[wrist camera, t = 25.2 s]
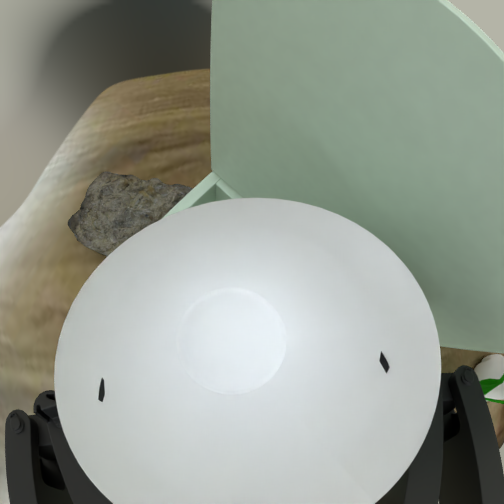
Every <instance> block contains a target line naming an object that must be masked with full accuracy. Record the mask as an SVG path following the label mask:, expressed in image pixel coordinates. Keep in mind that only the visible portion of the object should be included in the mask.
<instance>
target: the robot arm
mask: <svg viewBox="0 0 504 504" xmlns="http://www.w3.org/2000/svg"><path fill="white" fill-rule="evenodd" d="M379 361H380V363H381V365H382V367H383V368H384V370H385V372H386V374H387V372H388V370H389V368H390V367H389V364H388V362H387V360H386V358H385V356H384V355H383V353H382V351H381V354H380V360H379ZM104 395H105V388H104V379H103V378H102V379H101V383H100V387H99V396H98V400H100V401H101V402H103V399H104ZM455 407H456V410H457V413H455V412H454V408H455ZM34 413H35V414H36V415H27V414H26V413H25V412H24V411H22V410H13V411H12V412H11V413H10V414H9V415H8V417H7V419H6V425H5V457H6V474H7V484H8V492H9V499H10V504H113V503H112V502H111V501H110V500H109V499H108V498H107V497H105V496H104V495H103V494H102V493H101V492H100V491H99V489H98V488H97V487H96V486H95V485H94V484H93V482H92V481H91V480H90V479H89V478H88V476H87V475H86V473H85V472H84V470H83V469H82V468H81V466H80V465H79V463H78V461H77V459H76V458H75V456H74V454H73V452H72V450H71V448H70V446H69V444H68V441H67V439H66V437H65V434H64V432H63V429H62V425H61V422H60V418H59V415H58V410H57V404H56V398H55V391H52V390H49V391H44V392H43V393H41V394H40V395H39V396H38V397H37V398H36V400H35V403H34ZM438 501H439V504H504V474H503V469H502V463H501V457H500V452H499V447H498V443H497V438H496V434H495V430H494V426H493V423H492V419H491V415H490V412H489V409H488V405H487V402H486V399H485V396H484V393H483V390H482V387H481V384H480V382H479V379H478V376H477V374H476V373H475V371H474V370H473V369H472V368H471V367H469V366H463V365H462V366H460V367H458V369H457V370H456V371H455V372H454V373H441V381H440V389H439V396H438V401H437V405H436V409H435V413H434V416H433V419H432V422H431V425H430V428H429V430H428V433H427V435H426V437H425V440H424V442H423V444H422V446H421V447H420V449H419V451H418V453H417V455H416V456H415V458H414V459H413V461H412V463H411V464H410V466H409V467H408V468H407V470H406V471H405V472H404V474H403V475H402V476H401V478H400V479H399V480H398V481H397V482H396V483H395V485H394V486H393V487H392V488H391V489H390V490H389V491H388V492H387V493H386V494H385V495H384V496H383V497H382V498H381V499H379V500H378V501H377V502H376V503H375V504H438Z"/></svg>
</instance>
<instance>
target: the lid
mask: <svg viewBox="0 0 504 504" xmlns="http://www.w3.org/2000/svg"><path fill="white" fill-rule="evenodd" d="M210 62H211V63H210V130H211V169H212V170H213V171H214V172H215V173H216V174H218V175H219V176H220V177H221V178H222V179H223V180H224V181H225V182H227V183H228V184H229V185H230V186H231V187H232V188H233V189H234V190H236V191H237V192H238V193H239V194H240V195H241V196H242V197H243V198H274V199H283V200H290V201H296V202H301V203H305V204H309V205H312V206H316V207H320V208H323V209H325V210H328V211H330V212H333V213H336V214H338V215H340V216H342V217H344V218H346V219H348V220H350V221H352V222H354V223H356V224H358V225H359V226H361V227H362V228H364V229H366V230H367V231H369V232H370V233H372V234H373V235H374V236H376V237H377V238H378V239H379V240H381V241H382V242H383V243H384V244H385V245H387V246H388V247H389V248H390V249H391V250H392V251H393V252H394V253H395V254H396V255H397V256H398V257H399V258H400V260H401V261H402V262H403V263H404V264H405V266H406V267H407V268H408V269H409V271H410V272H411V273H412V275H413V276H414V278H415V280H416V281H417V283H418V284H419V286H420V288H421V290H422V292H423V294H424V295H425V297H426V300H427V302H428V304H429V307H430V309H431V312H432V315H433V317H434V321H435V325H436V329H437V332H438V338H439V344H440V346H442V347H450V348H458V349H466V350H475V351H485V352H495V353H504V53H503V52H502V51H501V50H500V48H499V47H498V46H497V45H496V44H495V43H494V42H493V41H492V40H491V39H490V38H489V37H488V36H487V35H486V34H485V33H484V32H483V31H482V30H481V29H480V28H479V27H478V26H477V25H476V24H475V23H474V22H472V20H470V19H469V18H468V17H467V16H466V15H465V14H463V12H461V11H460V10H459V9H458V8H457V7H455V6H454V5H453V4H452V3H450V2H449V1H448V0H212V19H211V59H210Z"/></svg>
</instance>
